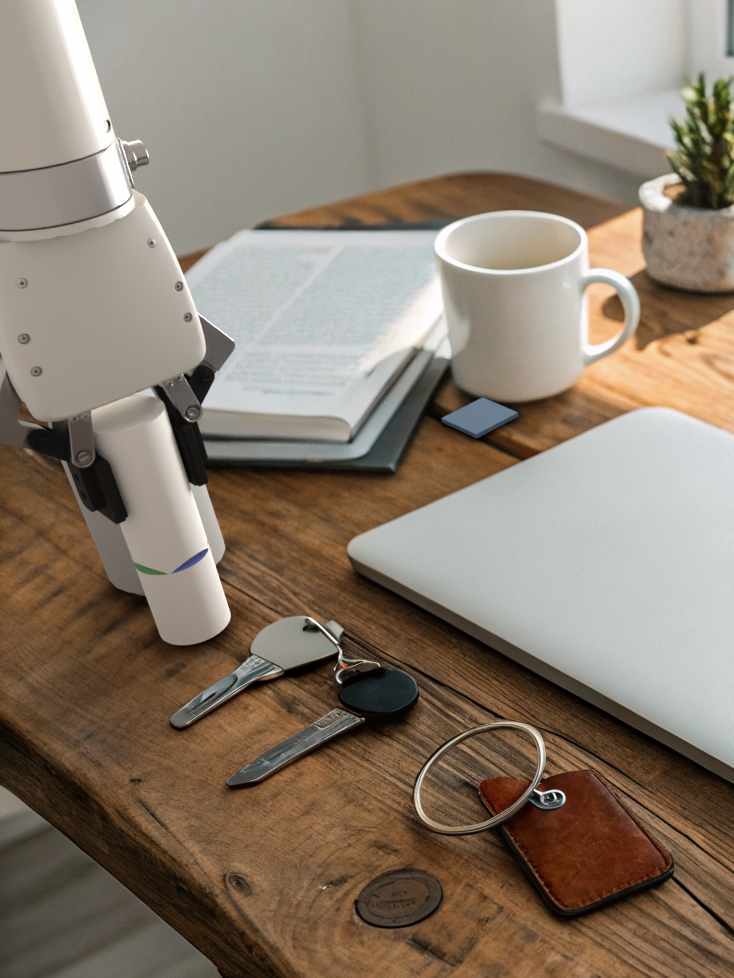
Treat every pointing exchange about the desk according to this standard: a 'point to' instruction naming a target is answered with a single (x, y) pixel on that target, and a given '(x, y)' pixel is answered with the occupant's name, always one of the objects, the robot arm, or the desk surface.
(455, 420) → the tile
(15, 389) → the robot arm
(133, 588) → the can
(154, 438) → the tube
